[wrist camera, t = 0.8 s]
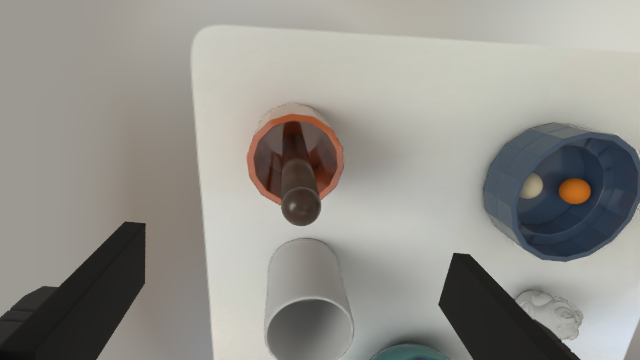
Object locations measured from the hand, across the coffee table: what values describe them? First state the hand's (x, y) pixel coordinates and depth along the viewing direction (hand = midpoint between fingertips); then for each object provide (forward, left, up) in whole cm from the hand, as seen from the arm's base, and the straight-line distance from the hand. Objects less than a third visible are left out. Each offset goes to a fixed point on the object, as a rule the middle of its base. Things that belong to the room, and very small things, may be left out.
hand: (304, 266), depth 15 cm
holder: (0, 0, -24) cm, 24 cm away
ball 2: (+1, +33, -22) cm, 40 cm away
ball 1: (+1, +27, -22) cm, 35 cm away
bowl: (+1, +30, -24) cm, 38 cm away
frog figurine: (+17, +34, -25) cm, 45 cm away
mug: (+17, +4, -25) cm, 30 cm away
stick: (0, 0, -24) cm, 24 cm away
